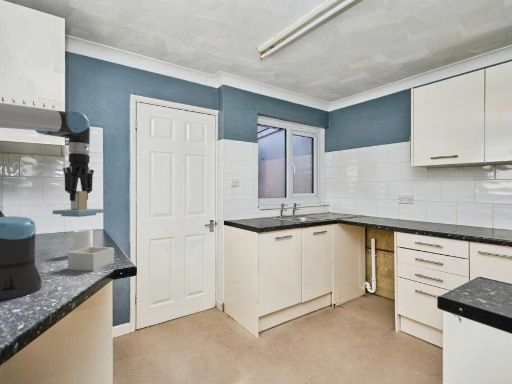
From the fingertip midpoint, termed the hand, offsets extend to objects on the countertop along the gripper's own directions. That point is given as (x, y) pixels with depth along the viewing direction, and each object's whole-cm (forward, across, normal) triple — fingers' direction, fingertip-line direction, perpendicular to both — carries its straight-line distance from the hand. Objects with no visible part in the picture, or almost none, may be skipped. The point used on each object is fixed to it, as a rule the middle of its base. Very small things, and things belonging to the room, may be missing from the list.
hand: (79, 208), depth 119 cm
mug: (+25, +17, +17) cm, 34 cm away
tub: (+25, +1, -6) cm, 25 cm away
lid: (+3, 0, 0) cm, 3 cm away
